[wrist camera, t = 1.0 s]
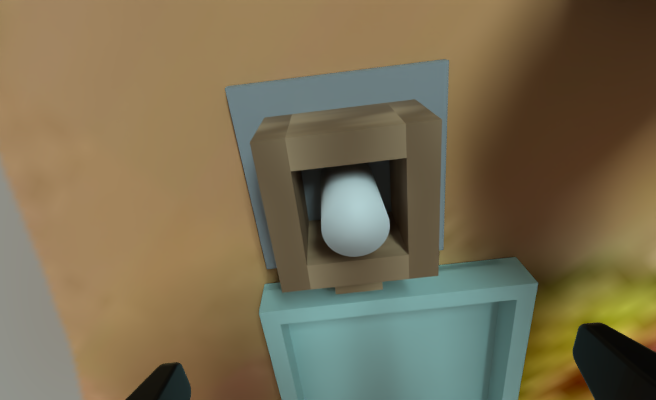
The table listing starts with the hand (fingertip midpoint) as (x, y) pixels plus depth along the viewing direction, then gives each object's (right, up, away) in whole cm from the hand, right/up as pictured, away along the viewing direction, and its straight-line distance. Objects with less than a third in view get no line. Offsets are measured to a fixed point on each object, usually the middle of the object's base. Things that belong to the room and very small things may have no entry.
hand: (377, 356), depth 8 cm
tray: (+3, -7, +17) cm, 18 cm away
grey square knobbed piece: (0, +5, +11) cm, 12 cm away
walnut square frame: (0, +5, +10) cm, 11 cm away
